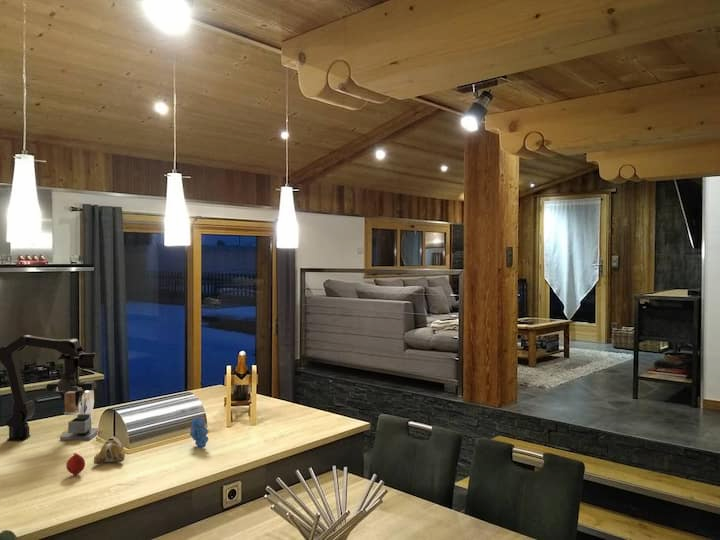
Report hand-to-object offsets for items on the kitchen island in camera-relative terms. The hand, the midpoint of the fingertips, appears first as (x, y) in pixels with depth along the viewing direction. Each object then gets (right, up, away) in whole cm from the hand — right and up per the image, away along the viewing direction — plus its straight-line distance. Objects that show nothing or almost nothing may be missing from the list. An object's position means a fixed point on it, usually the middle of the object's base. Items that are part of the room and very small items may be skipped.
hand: (71, 406), depth 243 cm
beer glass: (-4, -13, +21) cm, 25 cm away
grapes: (+55, -15, -8) cm, 58 cm away
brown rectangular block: (0, -3, 0) cm, 3 cm away
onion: (+21, -15, -40) cm, 48 cm away
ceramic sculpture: (+27, -15, -25) cm, 40 cm away
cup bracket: (+2, -13, +4) cm, 14 cm away
